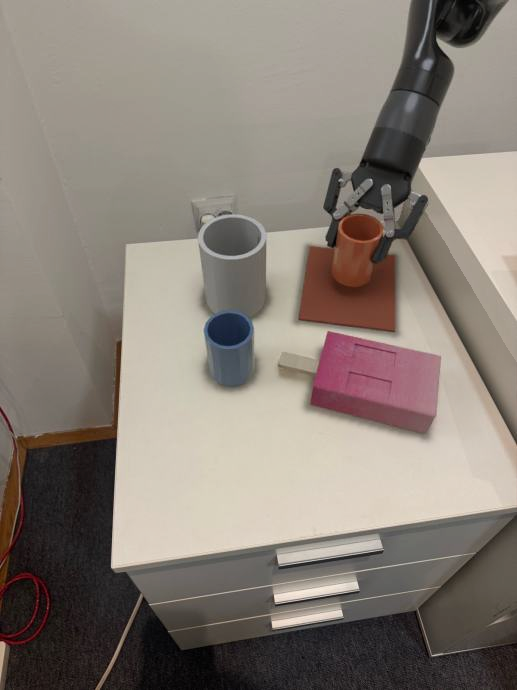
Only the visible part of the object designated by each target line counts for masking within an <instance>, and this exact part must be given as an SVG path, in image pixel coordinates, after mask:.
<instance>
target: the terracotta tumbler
mask: <svg viewBox="0 0 517 690" xmlns="http://www.w3.org/2000/svg"><path fill="white" fill-rule="evenodd" d="M382 236H383V237H384V225H383V224H382V222H381V221H380V220H379V219H377V218H376V217H375V216H372V215H370V214H367V213H351V214H350V215H348V216H346V217H344V218H342V220H341V221H340V222H339V226H338V232H337V238H336V244H335V247H334V249H335V251H334V257H333V263H332V275H333V277H334V279H335V280H336V281H338V282H339V283H341V284H343V285H345V286H350V287H358V286H362V285H365V284H366V283H368V282H369V281H370V280H371V278H372V275H373V272H374V268H375V264H374V263H372V259H373V256H374V254H375V252H376V249H377V247H378V244H379V242H380V240H381V237H382Z"/></svg>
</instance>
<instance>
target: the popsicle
mask: <svg viewBox="0 0 517 690" xmlns="http://www.w3.org/2000/svg"><path fill="white" fill-rule="evenodd" d="M441 360H442V356H441V355H438V354H434V353H429V352H424V351H420V350H416V349H411V348H407V347H403V346H398V345H394V344H389V343H385V342H381V341H374V340H370V339H367V338H362V337H357V336H353V335H348V334H344V333H341V332H340V333H339V332H335V331H332V330H331V331H330V330H328V331H327V332H326V335H325V340H324V343H323V347H322V350H321V354H320V358H319V359H317V358H313V357H309V356H304V355H301V354H296V353H291V352H288V351H282V352H281V353H280V355H279V358H278V361H277V366H278V368H279V369H282V370H287V371H290V372H295V373H298V374H302V375H303V374H304V375H307V376H311V377H314V379H313V380H314V381H313V384H312V390H311V396H310V402H309V405H311V406H314V407H317V408H322V409H326V410H330V411H333V412H337V413H342V414H346V415H350V416H354V417H357V418H361V419H366V420H370V421H374V422H377V423H381V424H386V425H390V426H394V427H397V428H401V429H405V430H410V431H413V432H418V433H421V434H427V432H428V430H429V428H430V426H431V425H432V423H433V422H434V420H435V419H436V416H437V411H438V397H439V385H440V374H441V363H442V362H441Z"/></svg>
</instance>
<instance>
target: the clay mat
mask: <svg viewBox="0 0 517 690" xmlns="http://www.w3.org/2000/svg"><path fill="white" fill-rule="evenodd" d="M334 251H335V248H334V249H333V248H330V247H320V246H314V245H313V246H311V245H309V247H308V255H307V260H306V261H307V262H306V269H305V274H304V280H303V287H302V293H301V301H300V307H299V313H298V321H302V322H303V321H304V322H309V323H310V322H311V323H318V324H327V325H335V326H342V327H343V326H344V327H352V328H357V329H358V328H359V329H366V330H375V331H383V332H391V333H395V332H396V255H394V254H387V256H386V259H385V260H384V261H383V262H381V261H379V263H378V265H377V264H375V268H374V272H373V275H372V278H371V280H370V281H369V282H368V283H366V284H365V285H362V286H358V287H350V286H345V285H343V284H341V283H339V282H338V281H336V280H335V279H334V277H333V275H332V263H333V257H334Z"/></svg>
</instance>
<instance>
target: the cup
mask: <svg viewBox="0 0 517 690" xmlns="http://www.w3.org/2000/svg"><path fill="white" fill-rule="evenodd" d="M197 241H198V242H197V244H198V250H199V257H200V265H201V274H202V279H203V288H204V296H205V301H206V305H207V307H208V309H209V310H210V312H212V313H213V314H216V313H218V312H221V311H227V310H232V311H239V312H241V313H243V314H245V315H247V316H248V318H250V317H253V316H255V315H256V314H258V313H259V312H260V311H261V310H262V308H263V307H264V305H265V303H266V299H267V293H266V292H267V231H266V228H265V227H264V226H263V224H262V223H261V222H259V221H258V220H257V219H255V218H253V217H251V216H247V215H243V214H236V213H231V214H230V213H229V214H223V215H219V216H216V217H214V218H212V219H209V221H207V222H205V223H204V224H203V225H202V226H201V228H200V230H199V231H198V235H197Z"/></svg>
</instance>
